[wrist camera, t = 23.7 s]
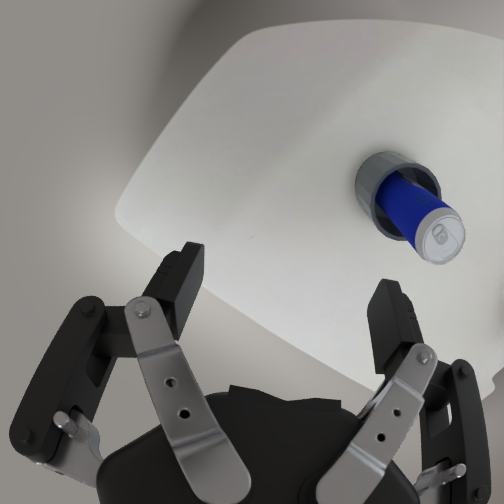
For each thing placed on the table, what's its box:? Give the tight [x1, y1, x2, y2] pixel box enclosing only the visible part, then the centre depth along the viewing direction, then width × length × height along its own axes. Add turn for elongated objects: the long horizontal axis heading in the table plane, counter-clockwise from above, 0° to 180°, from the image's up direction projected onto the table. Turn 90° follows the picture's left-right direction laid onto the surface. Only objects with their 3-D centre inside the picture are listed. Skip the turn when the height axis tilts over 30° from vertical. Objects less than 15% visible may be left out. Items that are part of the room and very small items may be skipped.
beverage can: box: [375, 170, 466, 265], centre depth 27 cm, size 5×5×15 cm
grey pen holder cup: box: [355, 152, 442, 241], centre depth 31 cm, size 9×9×7 cm
